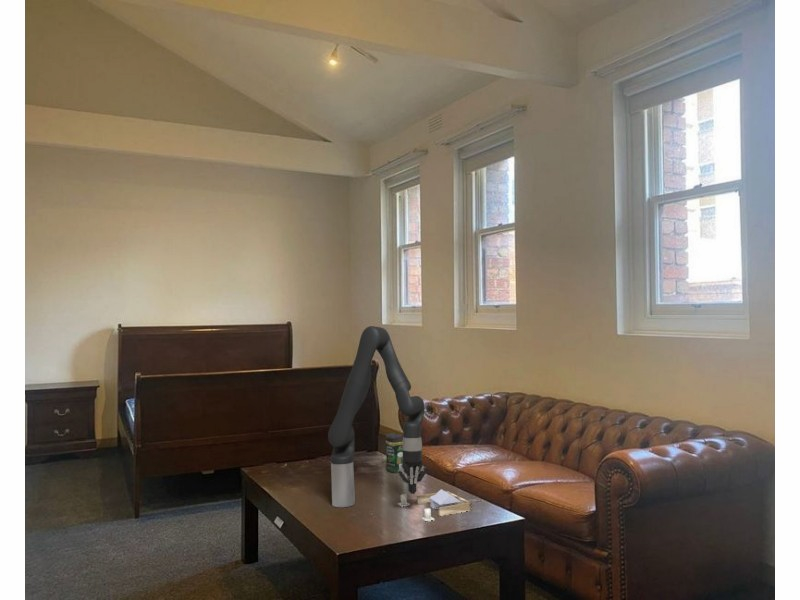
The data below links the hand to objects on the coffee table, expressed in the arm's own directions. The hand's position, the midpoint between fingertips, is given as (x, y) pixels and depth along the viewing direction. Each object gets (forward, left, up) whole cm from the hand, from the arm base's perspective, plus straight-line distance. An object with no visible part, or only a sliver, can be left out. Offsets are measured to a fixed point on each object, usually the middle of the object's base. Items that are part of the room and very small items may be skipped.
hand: (412, 493), depth 239 cm
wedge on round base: (0, +13, -8) cm, 16 cm away
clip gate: (0, +1, -7) cm, 8 cm away
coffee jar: (-62, +21, -8) cm, 66 cm away
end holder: (0, +13, -7) cm, 15 cm away
